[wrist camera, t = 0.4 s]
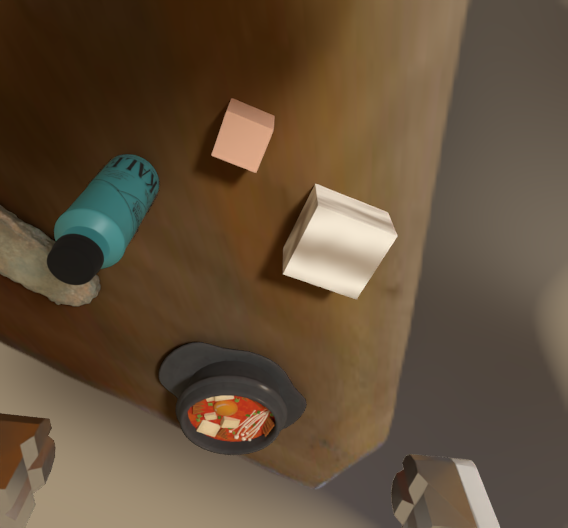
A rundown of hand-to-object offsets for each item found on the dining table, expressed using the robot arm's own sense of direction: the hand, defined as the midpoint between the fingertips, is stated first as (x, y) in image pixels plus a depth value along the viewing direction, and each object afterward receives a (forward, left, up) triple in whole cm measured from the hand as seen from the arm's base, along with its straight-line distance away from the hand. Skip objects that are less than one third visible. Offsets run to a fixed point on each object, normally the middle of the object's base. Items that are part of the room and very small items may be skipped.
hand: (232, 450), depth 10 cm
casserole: (+47, +12, -44) cm, 65 cm away
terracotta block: (+7, -1, -44) cm, 44 cm away
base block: (+15, +14, -44) cm, 49 cm away
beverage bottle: (+17, -11, -44) cm, 48 cm away
